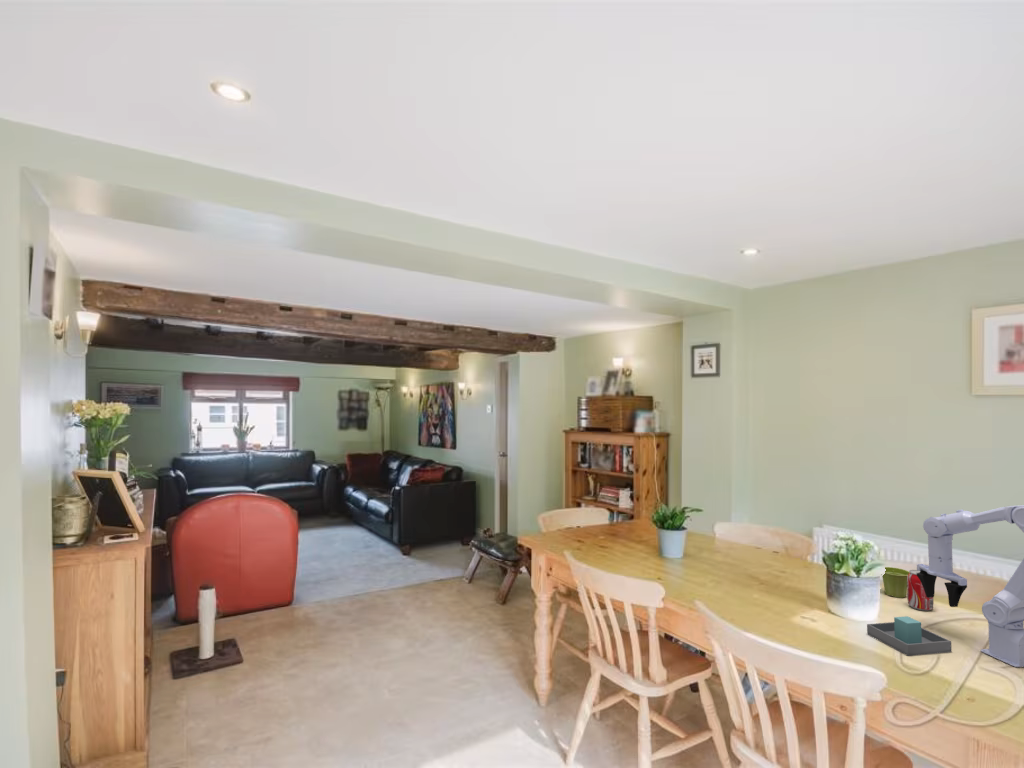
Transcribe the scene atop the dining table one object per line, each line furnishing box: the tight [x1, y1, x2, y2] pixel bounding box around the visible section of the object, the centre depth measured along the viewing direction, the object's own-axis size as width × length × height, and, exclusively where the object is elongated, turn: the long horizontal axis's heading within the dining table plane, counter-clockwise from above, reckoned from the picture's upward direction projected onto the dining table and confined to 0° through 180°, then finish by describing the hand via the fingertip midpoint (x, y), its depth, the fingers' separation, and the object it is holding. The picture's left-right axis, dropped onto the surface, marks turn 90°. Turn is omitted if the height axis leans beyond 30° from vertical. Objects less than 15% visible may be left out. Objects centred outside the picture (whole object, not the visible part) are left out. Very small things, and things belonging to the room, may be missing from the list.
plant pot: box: [881, 566, 910, 599], centre depth 195 cm, size 9×9×9 cm
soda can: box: [906, 569, 934, 612], centre depth 183 cm, size 7×7×12 cm
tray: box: [866, 621, 952, 657], centre depth 157 cm, size 14×14×3 cm
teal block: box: [893, 615, 922, 644], centre depth 157 cm, size 4×4×6 cm
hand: (941, 601), depth 164 cm, fingers open, 7 cm apart
